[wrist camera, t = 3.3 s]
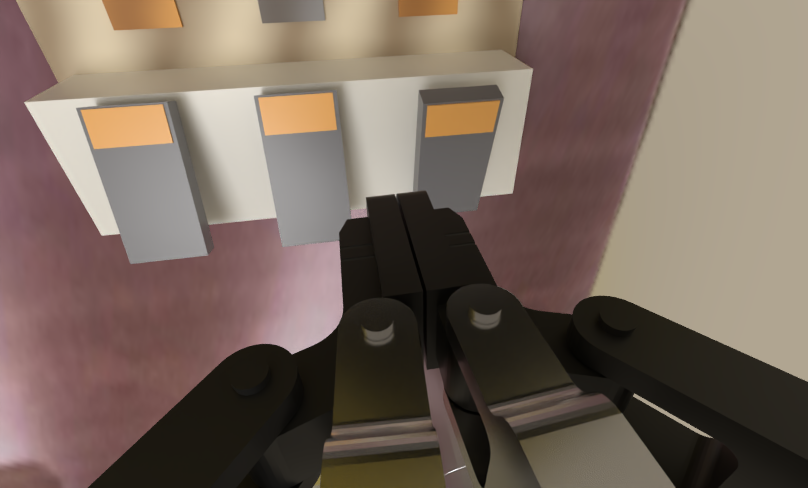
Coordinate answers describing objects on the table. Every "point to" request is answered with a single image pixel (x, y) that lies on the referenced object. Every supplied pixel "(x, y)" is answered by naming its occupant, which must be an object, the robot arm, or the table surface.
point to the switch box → (240, 133)
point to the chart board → (259, 31)
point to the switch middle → (305, 164)
